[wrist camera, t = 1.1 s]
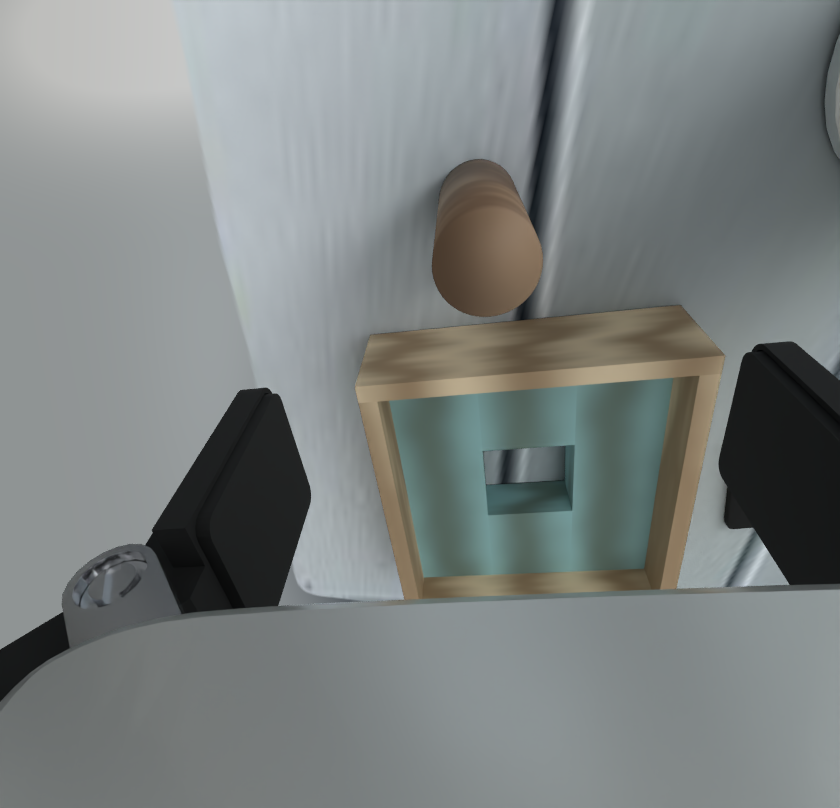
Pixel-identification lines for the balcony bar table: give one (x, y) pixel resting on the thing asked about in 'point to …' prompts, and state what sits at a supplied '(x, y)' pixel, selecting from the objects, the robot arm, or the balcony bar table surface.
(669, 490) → the box
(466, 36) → the balcony bar table surface
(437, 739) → the robot arm
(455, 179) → the peg
